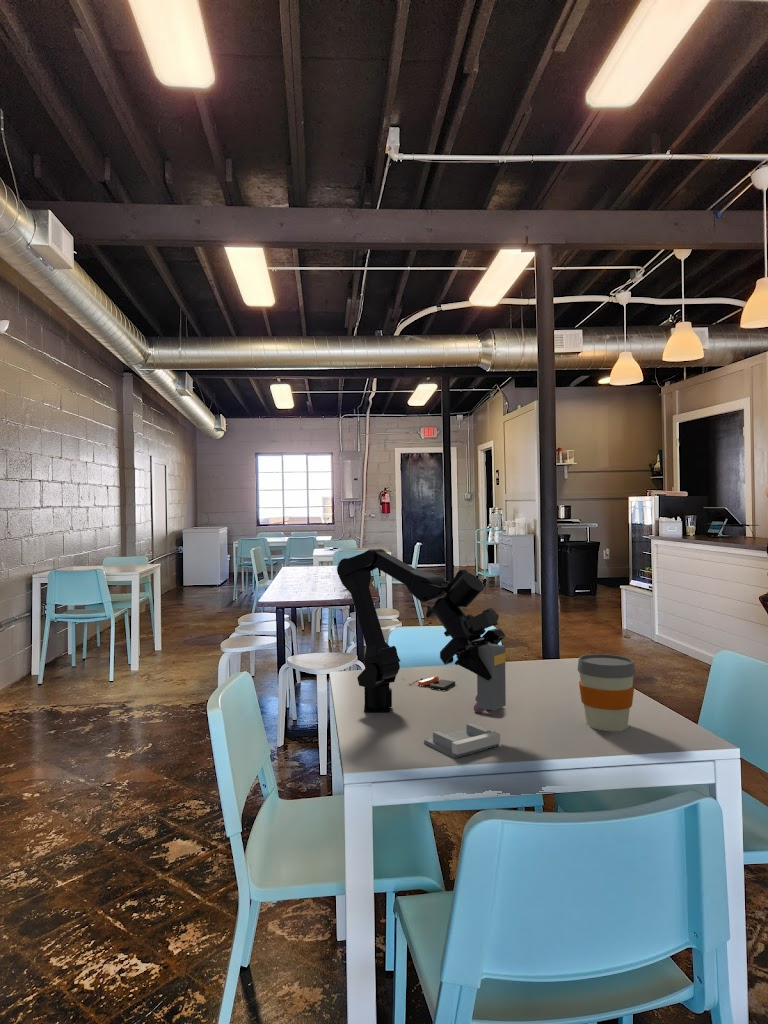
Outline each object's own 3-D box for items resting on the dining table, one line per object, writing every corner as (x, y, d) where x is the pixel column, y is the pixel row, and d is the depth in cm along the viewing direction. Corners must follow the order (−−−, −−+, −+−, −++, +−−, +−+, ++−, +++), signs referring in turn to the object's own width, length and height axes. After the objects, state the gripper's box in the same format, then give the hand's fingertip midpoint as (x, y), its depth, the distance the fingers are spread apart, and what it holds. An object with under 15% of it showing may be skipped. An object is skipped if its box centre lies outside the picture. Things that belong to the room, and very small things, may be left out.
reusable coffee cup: (645, 724, 143) (644, 659, 144) (621, 738, 134) (620, 668, 135) (593, 713, 152) (592, 651, 153) (568, 725, 143) (567, 659, 144)
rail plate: (424, 743, 132) (424, 730, 132) (467, 732, 139) (467, 720, 139) (456, 759, 123) (456, 744, 123) (500, 746, 130) (500, 733, 130)
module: (477, 707, 135) (477, 646, 135) (489, 702, 139) (489, 643, 139) (494, 710, 132) (493, 649, 132) (506, 705, 136) (506, 645, 136)
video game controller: (488, 720, 152) (501, 695, 152) (472, 710, 153) (484, 685, 153) (489, 708, 162) (501, 684, 162) (474, 699, 163) (485, 676, 163)
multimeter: (382, 686, 180) (382, 674, 180) (405, 678, 190) (405, 666, 190) (435, 697, 170) (435, 684, 170) (457, 687, 179) (457, 675, 179)
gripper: (450, 601, 131) (496, 661, 124) (497, 593, 145) (541, 647, 138) (421, 634, 137) (463, 694, 129) (469, 623, 150) (510, 677, 143)
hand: (496, 676), depth 135 cm, fingers closed on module, 5 cm apart
